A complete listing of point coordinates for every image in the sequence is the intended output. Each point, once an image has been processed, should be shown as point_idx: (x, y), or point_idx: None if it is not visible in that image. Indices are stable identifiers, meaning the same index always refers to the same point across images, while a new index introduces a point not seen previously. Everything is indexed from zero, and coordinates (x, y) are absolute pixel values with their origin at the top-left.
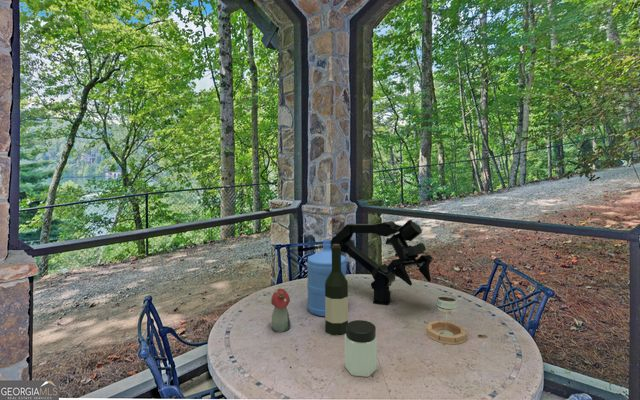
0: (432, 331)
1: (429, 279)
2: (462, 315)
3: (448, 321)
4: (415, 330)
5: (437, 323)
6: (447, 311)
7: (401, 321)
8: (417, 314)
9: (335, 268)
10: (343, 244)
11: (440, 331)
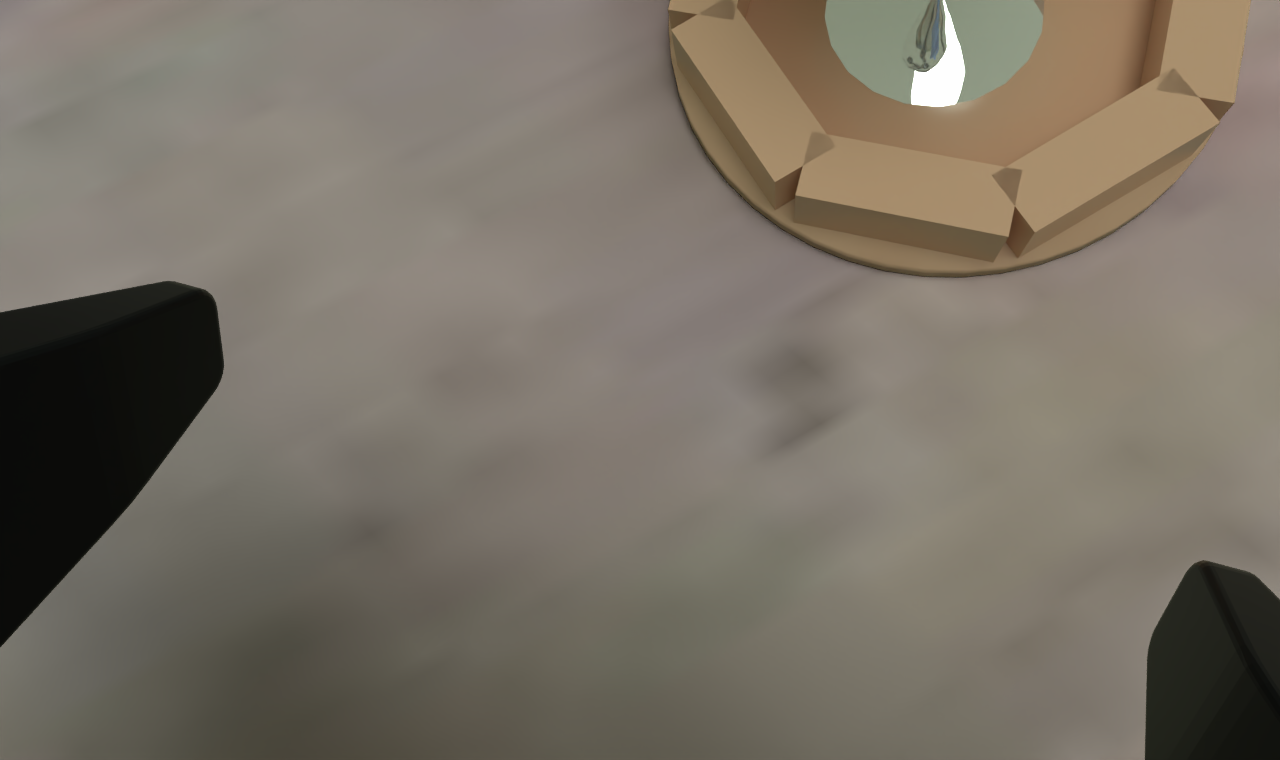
0: (1216, 35)
1: (177, 324)
2: (189, 164)
3: (694, 61)
4: (1199, 360)
5: (868, 147)
6: None
7: (1112, 716)
8: (634, 667)
9: None
10: None
11: (990, 54)
